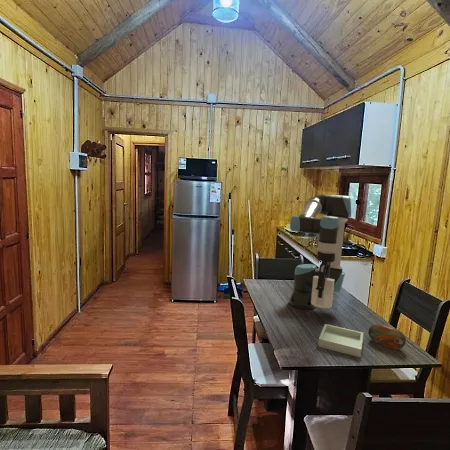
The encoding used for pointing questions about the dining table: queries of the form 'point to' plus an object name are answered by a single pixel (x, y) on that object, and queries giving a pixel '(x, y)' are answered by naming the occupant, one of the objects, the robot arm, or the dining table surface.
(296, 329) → the dining table surface
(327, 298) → the base with upright slab
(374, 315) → the dining table surface
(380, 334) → the tin
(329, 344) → the bin
